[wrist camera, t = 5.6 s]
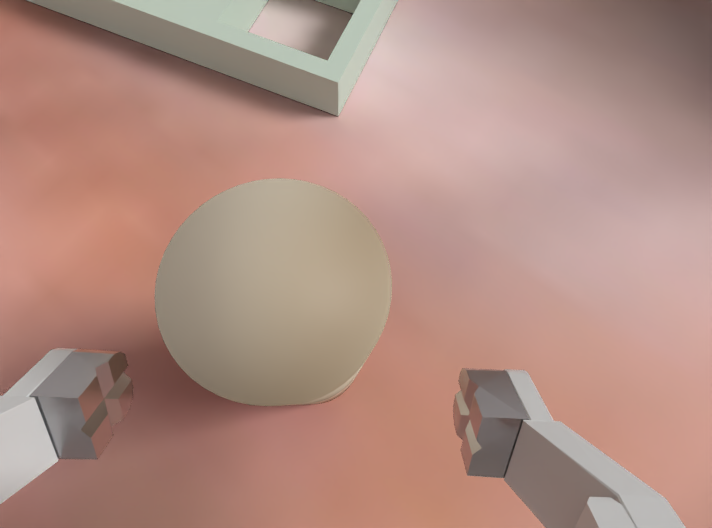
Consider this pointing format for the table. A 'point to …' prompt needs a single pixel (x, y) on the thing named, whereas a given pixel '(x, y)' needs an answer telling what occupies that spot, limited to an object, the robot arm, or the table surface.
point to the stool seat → (242, 41)
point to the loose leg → (274, 293)
